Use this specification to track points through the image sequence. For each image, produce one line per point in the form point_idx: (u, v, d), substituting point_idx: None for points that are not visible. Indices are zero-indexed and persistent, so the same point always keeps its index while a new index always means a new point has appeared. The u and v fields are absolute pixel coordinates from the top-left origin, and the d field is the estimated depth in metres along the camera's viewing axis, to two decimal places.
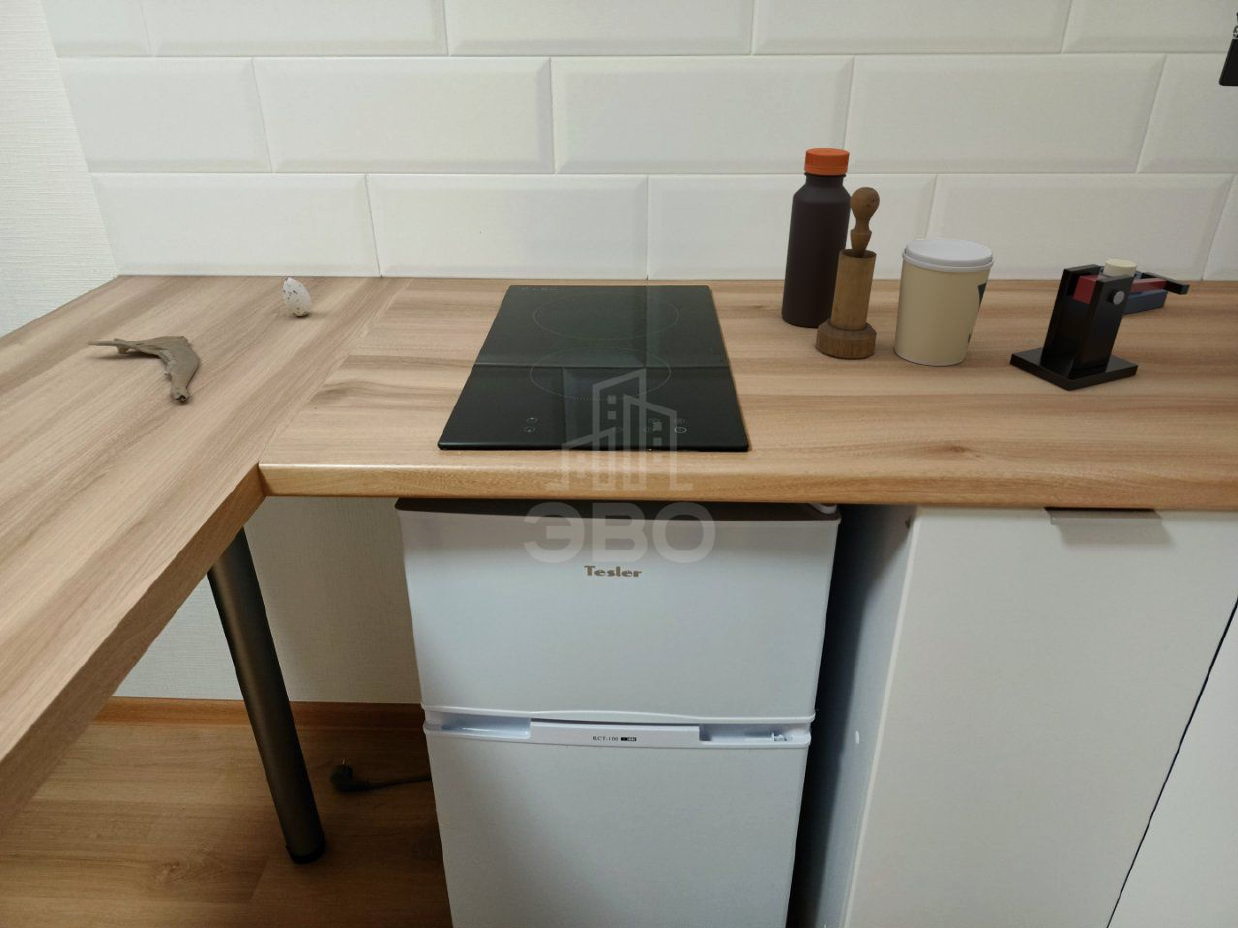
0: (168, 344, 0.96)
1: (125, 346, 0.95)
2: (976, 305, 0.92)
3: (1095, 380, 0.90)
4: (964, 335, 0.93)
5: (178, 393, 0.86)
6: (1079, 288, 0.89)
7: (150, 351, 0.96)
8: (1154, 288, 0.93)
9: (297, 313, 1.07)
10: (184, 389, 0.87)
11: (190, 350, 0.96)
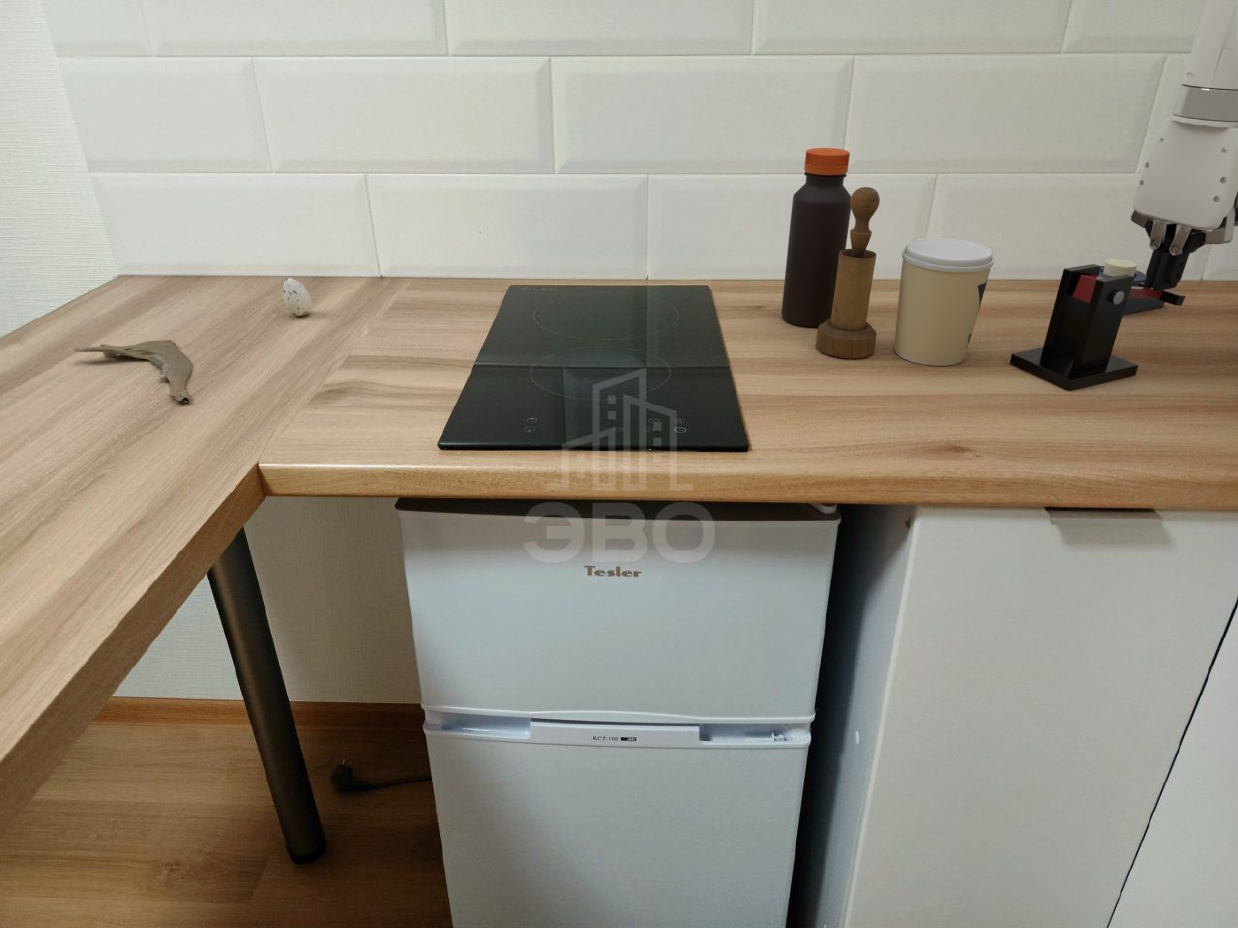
0: (158, 348, 0.96)
1: (114, 351, 0.94)
2: (976, 305, 0.92)
3: (1095, 380, 0.90)
4: (964, 335, 0.93)
5: (180, 395, 0.86)
6: (1080, 287, 0.89)
7: (140, 356, 0.95)
8: (1150, 297, 0.93)
9: (297, 313, 1.07)
10: (185, 391, 0.87)
11: (181, 353, 0.96)
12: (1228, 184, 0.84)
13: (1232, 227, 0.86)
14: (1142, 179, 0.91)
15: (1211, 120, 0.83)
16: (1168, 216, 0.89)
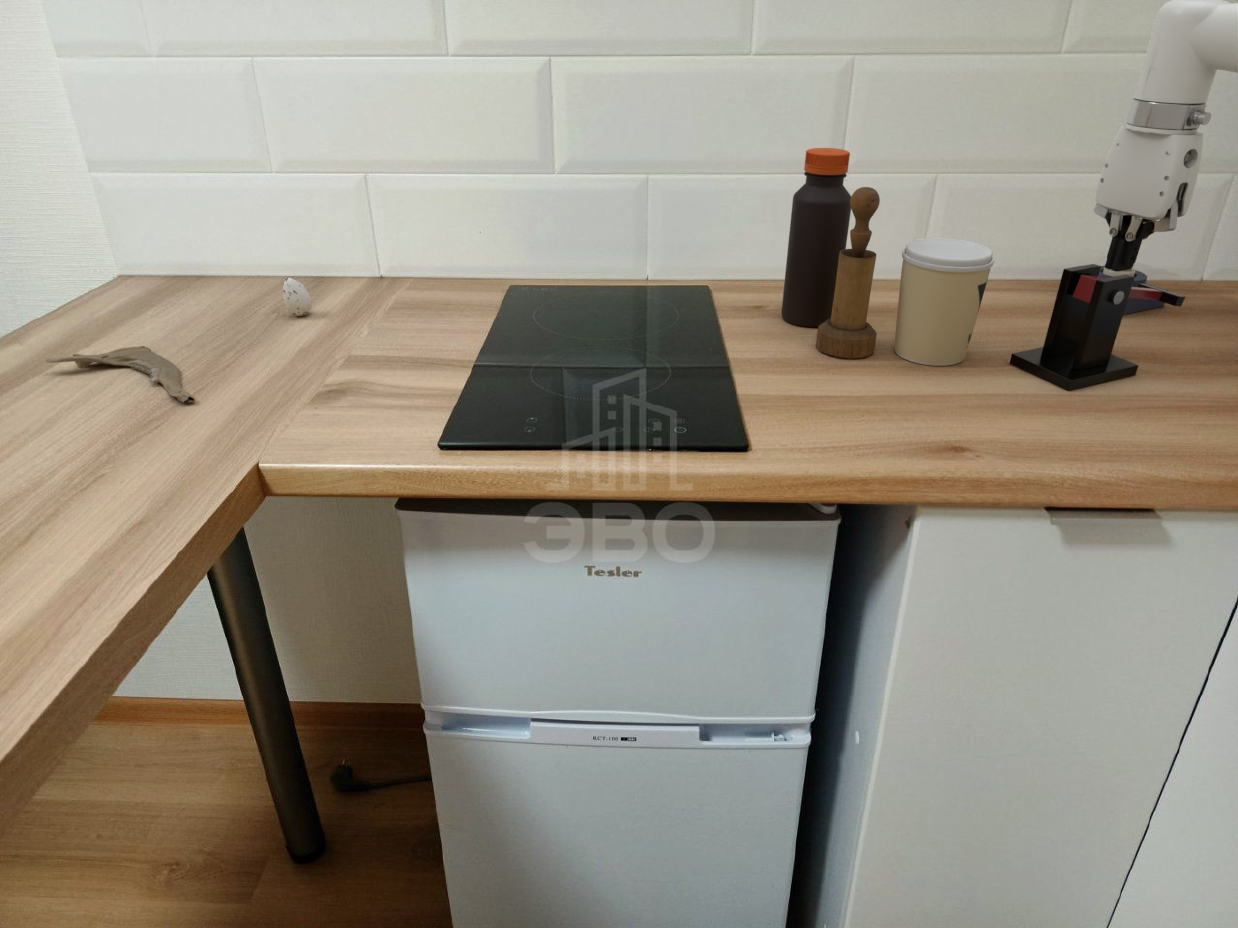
0: (136, 354, 0.94)
1: (91, 360, 0.92)
2: (976, 305, 0.92)
3: (1095, 380, 0.90)
4: (964, 335, 0.93)
5: (184, 395, 0.86)
6: (1080, 286, 0.89)
7: (118, 363, 0.94)
8: (1150, 297, 0.93)
9: (297, 313, 1.07)
10: (186, 392, 0.87)
11: (162, 357, 0.95)
12: (1171, 181, 1.01)
13: (1175, 217, 1.03)
14: (1102, 177, 1.08)
15: (1156, 128, 1.00)
16: (1123, 208, 1.06)
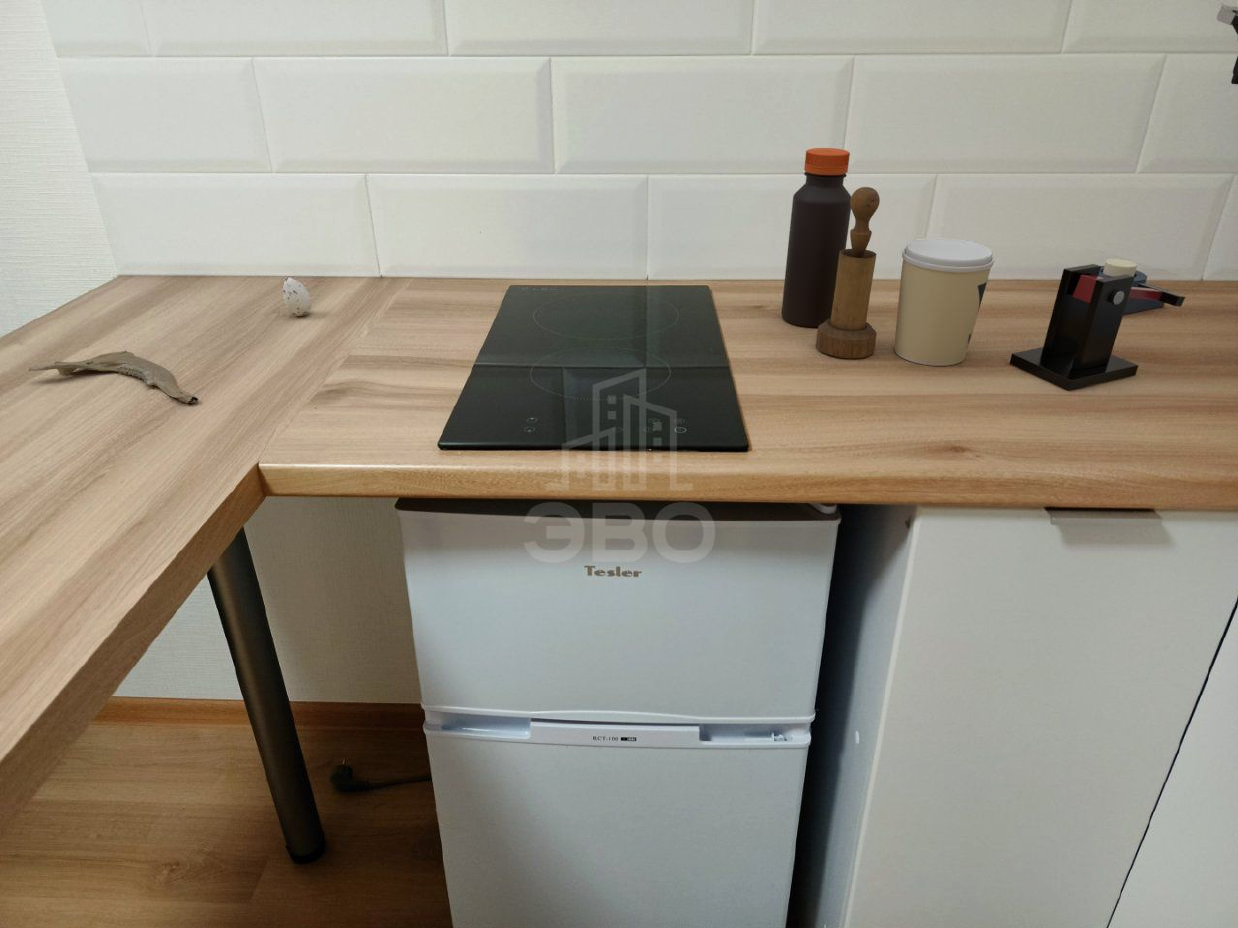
0: (122, 359, 0.93)
1: (76, 366, 0.91)
2: (976, 305, 0.92)
3: (1095, 380, 0.90)
4: (964, 335, 0.93)
5: (187, 396, 0.86)
6: (1080, 286, 0.89)
7: (105, 368, 0.92)
8: (1150, 297, 0.93)
9: (297, 313, 1.07)
10: (187, 392, 0.87)
11: (149, 361, 0.94)
12: None
13: None
14: None
15: None
16: None
